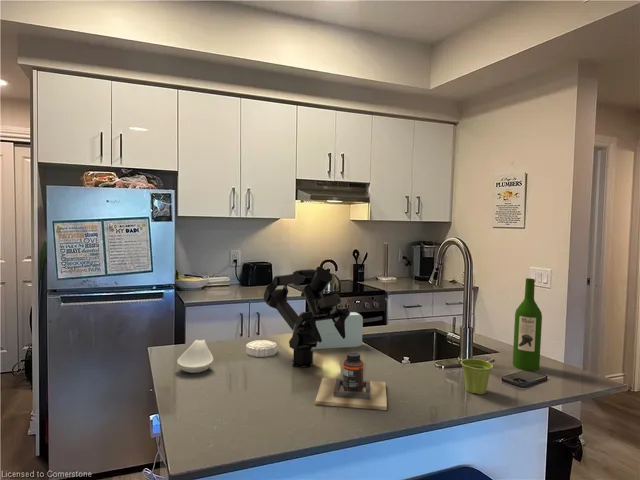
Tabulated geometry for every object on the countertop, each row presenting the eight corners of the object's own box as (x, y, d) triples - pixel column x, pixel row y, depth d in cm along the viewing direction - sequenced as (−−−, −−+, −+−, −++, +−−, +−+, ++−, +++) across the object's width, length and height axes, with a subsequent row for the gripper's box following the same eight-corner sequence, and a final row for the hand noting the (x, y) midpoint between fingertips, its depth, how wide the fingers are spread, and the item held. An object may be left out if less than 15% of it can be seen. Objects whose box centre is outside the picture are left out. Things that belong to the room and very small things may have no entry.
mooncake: (266, 359, 159) (266, 349, 159) (239, 354, 164) (239, 345, 164) (282, 350, 170) (282, 341, 170) (257, 346, 175) (257, 337, 175)
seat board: (315, 404, 121) (315, 395, 121) (322, 380, 139) (322, 373, 139) (386, 410, 119) (387, 401, 118) (385, 385, 136) (385, 377, 136)
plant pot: (476, 399, 128) (477, 370, 127) (453, 387, 136) (454, 360, 136) (498, 394, 132) (499, 366, 131) (474, 383, 140) (475, 357, 140)
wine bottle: (513, 368, 155) (517, 279, 154) (512, 361, 164) (516, 276, 162) (540, 372, 152) (545, 281, 150) (538, 364, 160) (542, 278, 159)
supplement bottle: (359, 386, 132) (360, 350, 132) (365, 393, 127) (366, 356, 126) (340, 387, 131) (341, 351, 130) (346, 395, 125) (347, 357, 125)
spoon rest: (211, 376, 141) (212, 354, 140) (174, 377, 139) (174, 356, 138) (216, 353, 164) (216, 335, 164) (184, 354, 162) (184, 335, 162)
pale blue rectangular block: (307, 350, 171) (308, 317, 170) (304, 345, 177) (305, 313, 176) (362, 347, 177) (363, 315, 176) (357, 343, 183) (358, 312, 182)
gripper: (300, 287, 136) (318, 330, 128) (347, 284, 146) (367, 323, 138) (288, 307, 143) (304, 349, 135) (334, 302, 153) (351, 341, 145)
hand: (332, 339), depth 138 cm, fingers open, 9 cm apart
